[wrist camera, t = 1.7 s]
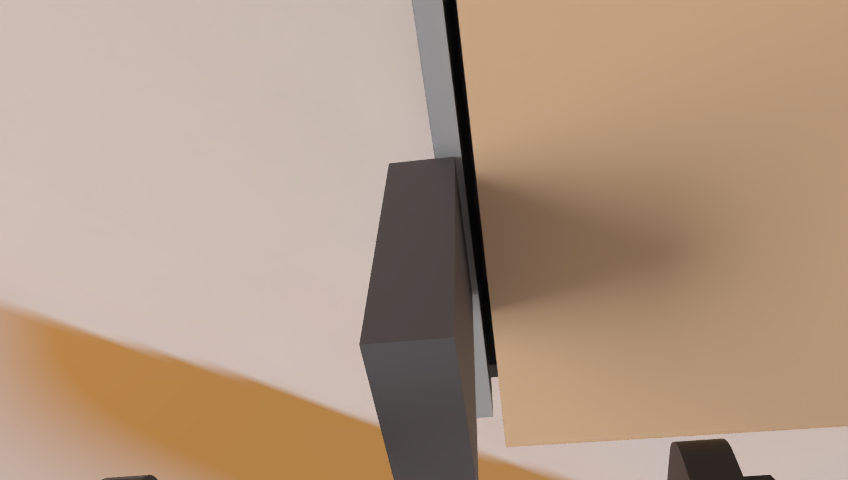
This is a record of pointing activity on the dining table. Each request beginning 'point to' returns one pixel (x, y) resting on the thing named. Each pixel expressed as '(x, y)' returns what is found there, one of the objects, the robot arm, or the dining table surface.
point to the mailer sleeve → (662, 213)
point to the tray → (432, 282)
